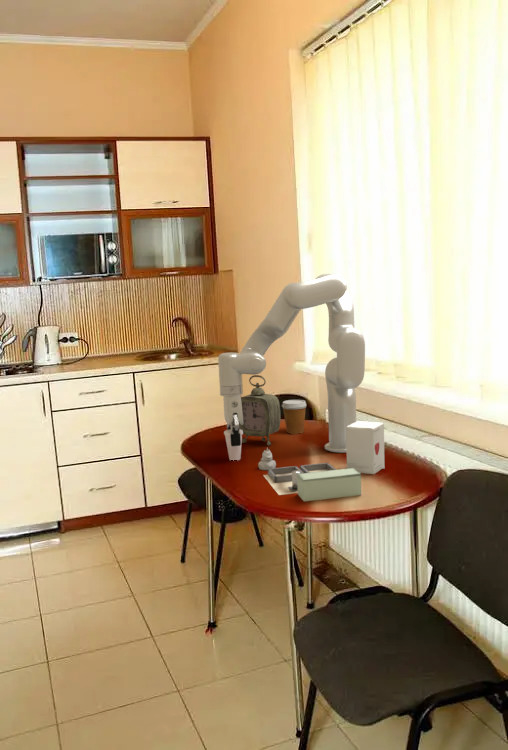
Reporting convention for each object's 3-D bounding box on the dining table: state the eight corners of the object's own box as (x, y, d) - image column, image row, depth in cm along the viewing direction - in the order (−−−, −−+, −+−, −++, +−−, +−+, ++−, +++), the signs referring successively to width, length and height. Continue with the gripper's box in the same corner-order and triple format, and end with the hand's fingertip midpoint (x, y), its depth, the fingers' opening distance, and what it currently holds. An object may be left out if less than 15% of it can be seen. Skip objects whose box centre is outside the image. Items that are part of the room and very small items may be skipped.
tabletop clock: (237, 443, 257) (233, 376, 253) (251, 438, 264) (247, 372, 261) (270, 447, 249) (267, 377, 245) (284, 441, 256) (281, 374, 253)
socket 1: (296, 471, 214) (296, 465, 213) (304, 479, 205) (304, 473, 205) (268, 474, 212) (267, 468, 212) (274, 483, 203) (274, 476, 203)
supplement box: (374, 478, 207) (373, 428, 205) (346, 475, 212) (344, 426, 210) (385, 470, 215) (384, 422, 213) (358, 467, 220) (357, 420, 217)
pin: (299, 487, 198) (299, 470, 197) (302, 489, 196) (301, 472, 195) (291, 488, 198) (290, 470, 197) (293, 490, 195) (292, 473, 195)
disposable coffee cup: (308, 434, 266) (307, 403, 264) (283, 435, 266) (281, 404, 264) (306, 429, 275) (305, 398, 273) (282, 430, 275) (281, 400, 273)
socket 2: (328, 468, 215) (328, 462, 215) (337, 476, 207) (337, 470, 207) (300, 471, 214) (299, 465, 213) (308, 479, 205) (308, 473, 205)
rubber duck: (263, 475, 216) (262, 450, 214) (255, 470, 222) (254, 445, 220) (279, 472, 217) (278, 447, 216) (271, 467, 224) (270, 443, 222)
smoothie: (242, 461, 232) (240, 420, 230) (223, 461, 233) (221, 420, 231) (246, 456, 238) (244, 416, 236) (227, 456, 239) (225, 416, 237)
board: (333, 471, 216) (332, 467, 216) (355, 490, 197) (355, 485, 196) (263, 479, 212) (262, 474, 211) (279, 499, 192) (278, 494, 192)
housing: (353, 492, 195) (353, 467, 194) (361, 499, 189) (360, 473, 188) (298, 498, 192) (297, 473, 191) (304, 505, 186) (303, 480, 185)
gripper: (247, 393, 225) (250, 448, 227) (237, 385, 241) (240, 436, 244) (224, 395, 223) (227, 450, 226) (216, 387, 240) (218, 438, 243)
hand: (234, 442), depth 235 cm, fingers closed on smoothie, 6 cm apart
